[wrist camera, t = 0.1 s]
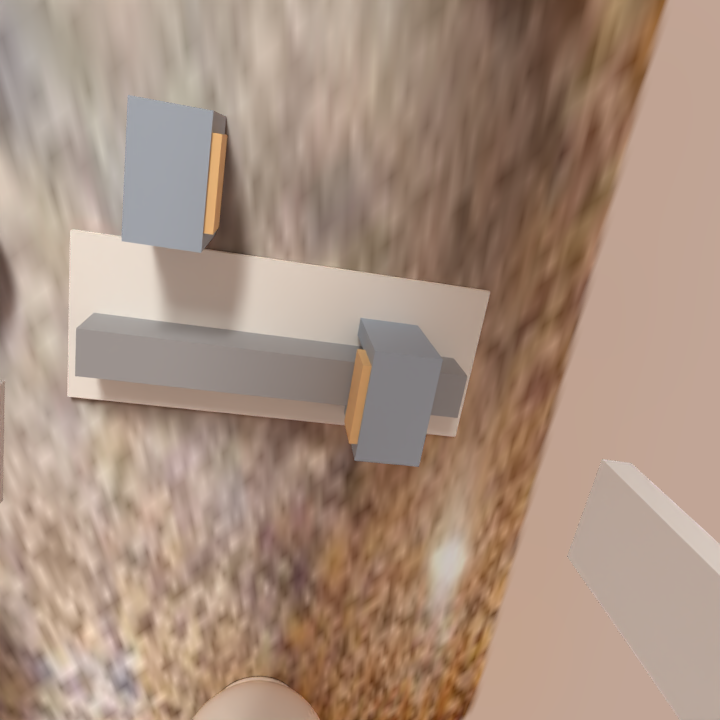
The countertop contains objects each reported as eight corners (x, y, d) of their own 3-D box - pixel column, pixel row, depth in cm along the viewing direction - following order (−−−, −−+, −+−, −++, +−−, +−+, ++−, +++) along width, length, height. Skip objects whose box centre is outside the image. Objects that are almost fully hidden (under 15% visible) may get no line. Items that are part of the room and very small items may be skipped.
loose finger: (156, 104, 35) (127, 95, 29) (234, 118, 36) (223, 112, 30) (149, 224, 38) (121, 241, 31) (223, 235, 38) (210, 254, 32)
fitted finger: (353, 316, 41) (366, 349, 34) (417, 325, 41) (442, 359, 35) (336, 411, 43) (346, 459, 36) (398, 418, 44) (418, 466, 37)
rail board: (72, 229, 37) (49, 238, 33) (488, 290, 42) (508, 304, 38) (69, 393, 41) (48, 418, 37) (453, 433, 45) (469, 460, 41)
